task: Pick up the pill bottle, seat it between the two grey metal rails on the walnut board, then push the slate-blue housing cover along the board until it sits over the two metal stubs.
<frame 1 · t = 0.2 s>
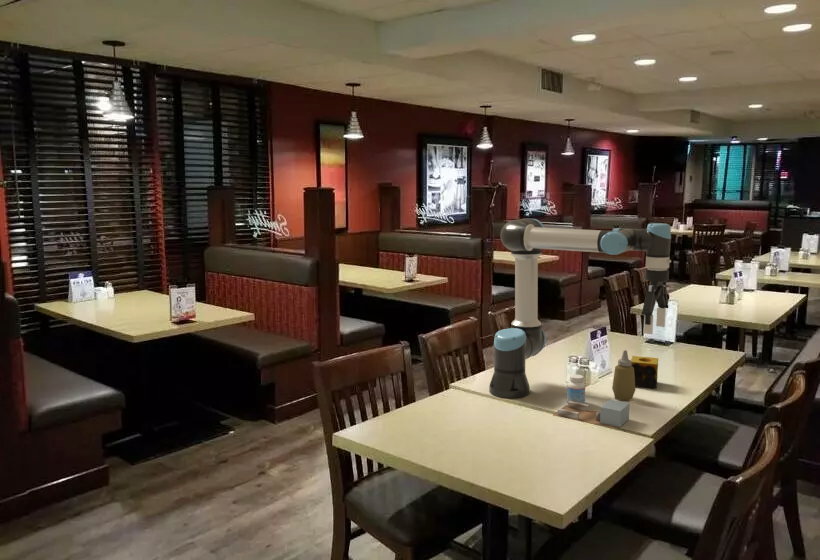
hand: (654, 330, 225), 28 cm above the table, fingers open, 13 cm apart
squeeze bottle: (623, 399, 237), on the table
pill bottle: (575, 407, 229), on the table
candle: (643, 385, 254), on the table
cover: (614, 413, 211), point 4 cm above the table, slide at 0.0 cm
board: (590, 420, 216), on the table
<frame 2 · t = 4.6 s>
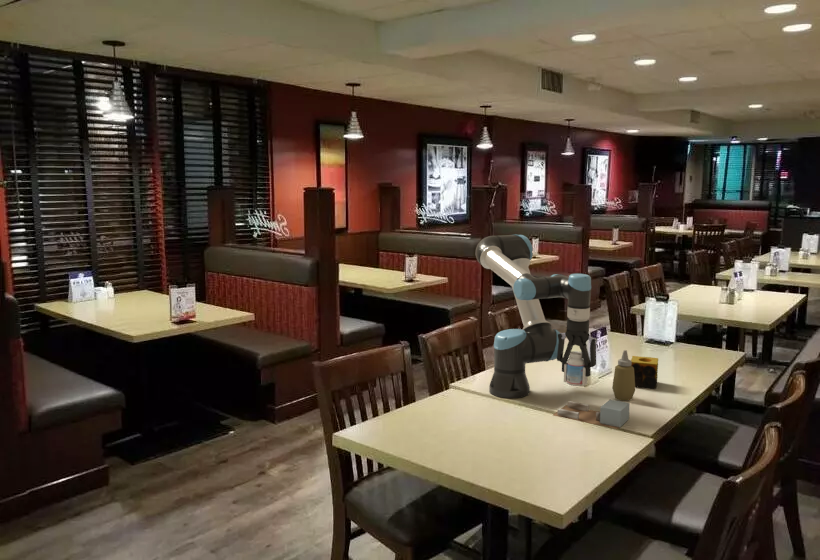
hand: (575, 382, 229), 9 cm above the table, fingers closed on pill bottle, 6 cm apart
pill bottle: (575, 384, 229), point 8 cm above the table, touching gripper
everything else where it was.
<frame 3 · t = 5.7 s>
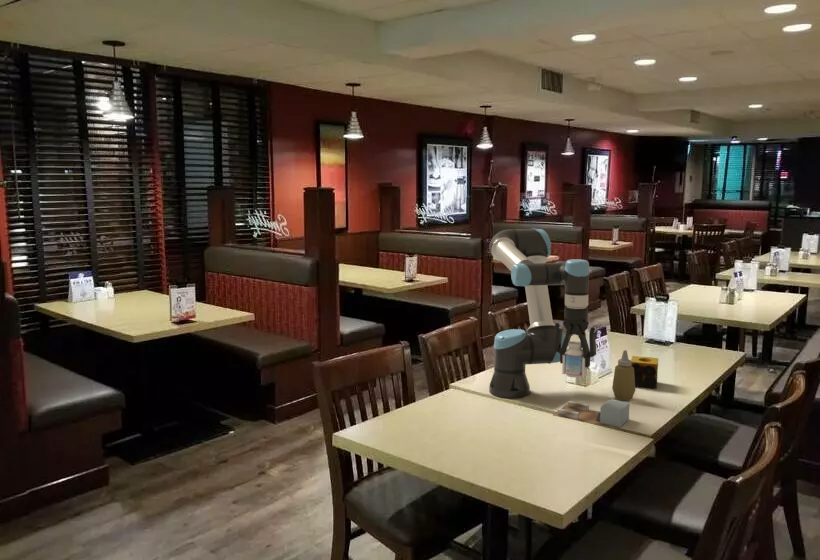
hand: (574, 374, 217), 15 cm above the table, fingers closed on pill bottle, 6 cm apart
pill bottle: (574, 376, 218), point 14 cm above the table, touching gripper
everything else where it was.
when the fingers open (2 cm above the table, at t = 7.4 s): pill bottle stays where it is, resting on board.
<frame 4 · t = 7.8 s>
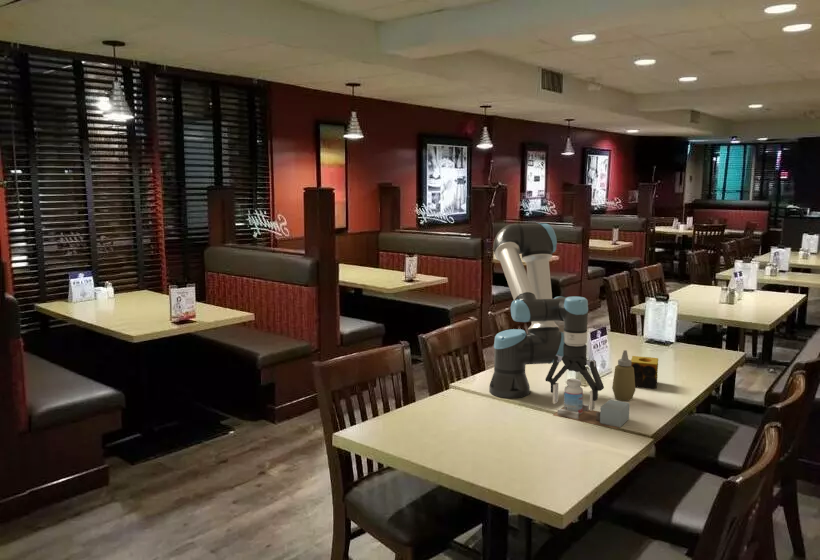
hand: (573, 405, 219), 4 cm above the table, fingers open, 12 cm apart
pill bottle: (573, 413, 219), point 1 cm above the table, touching board
everything else where it was.
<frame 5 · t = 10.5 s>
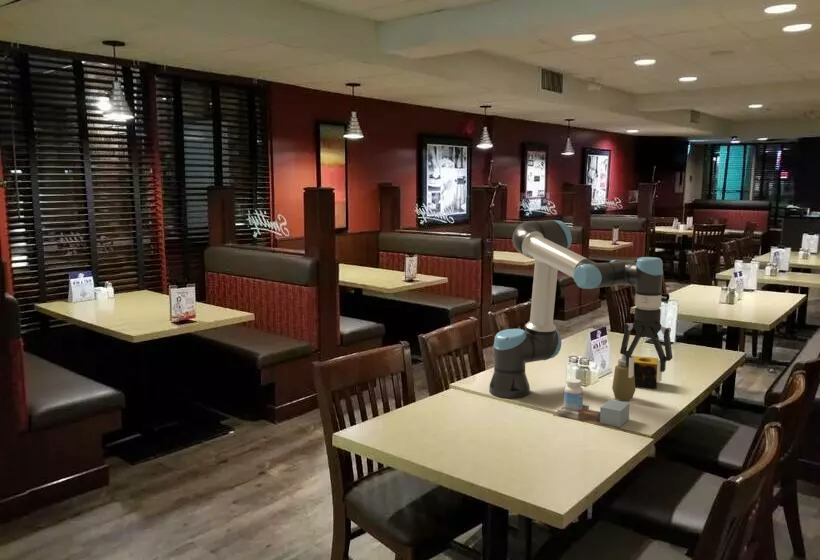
hand: (644, 378, 204), 17 cm above the table, fingers open, 8 cm apart
nothing on the table moved.
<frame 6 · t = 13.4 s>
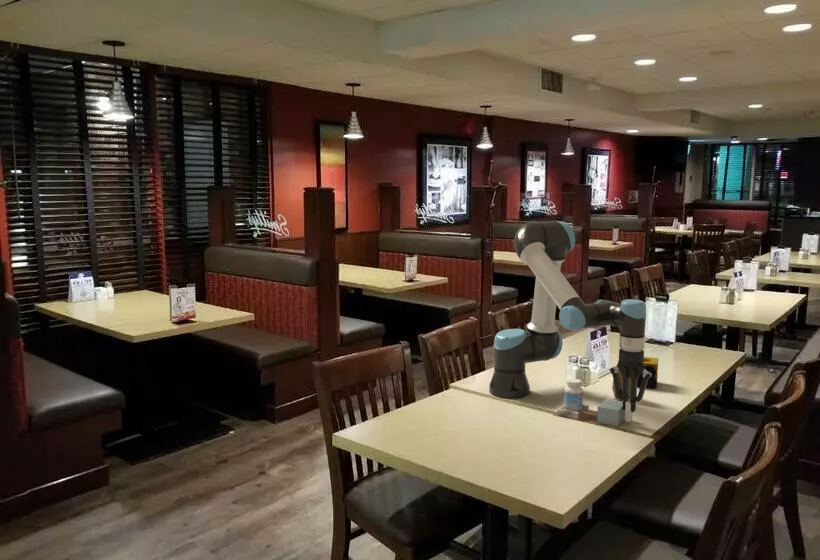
hand: (628, 420, 209), 3 cm above the table, fingers closed
cover: (612, 412, 211), point 4 cm above the table, slide at 0.9 cm, touching gripper
everything else where it was.
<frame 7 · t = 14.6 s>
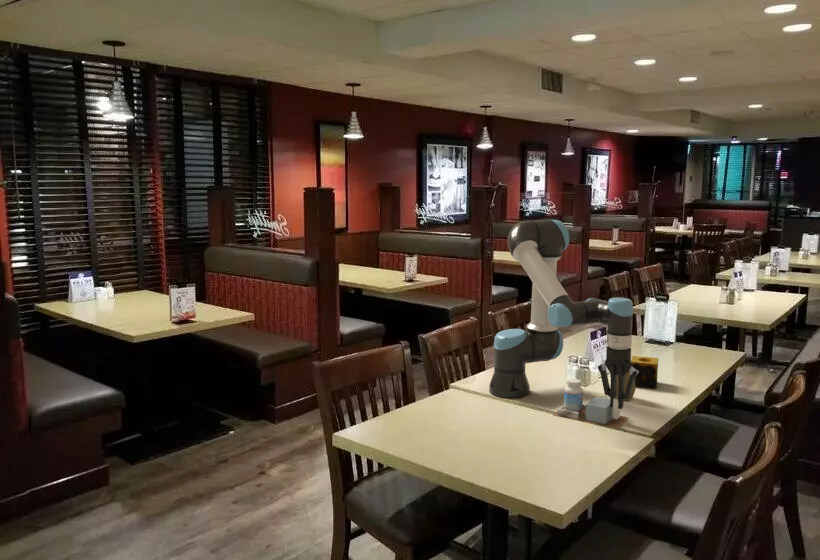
hand: (616, 417, 211), 3 cm above the table, fingers closed
cover: (600, 410, 214), point 4 cm above the table, slide at 4.8 cm, touching gripper
everything else where it was.
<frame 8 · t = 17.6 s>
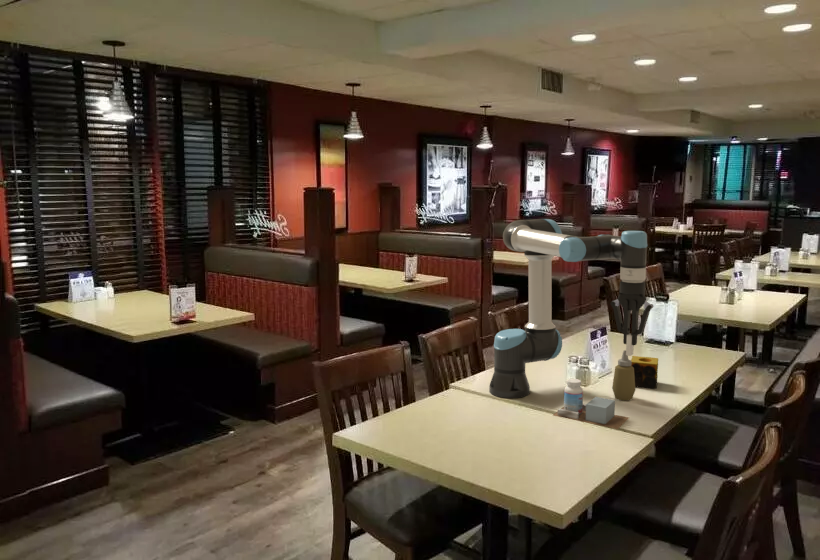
hand: (629, 354, 205), 24 cm above the table, fingers closed
cover: (600, 410, 214), point 4 cm above the table, slide at 4.8 cm
everything else where it was.
at the end: pill bottle 0.1 cm from the target spot, point 1.3 cm above the table; pill bottle tilted 0°; cover slide at 4.8 cm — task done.
